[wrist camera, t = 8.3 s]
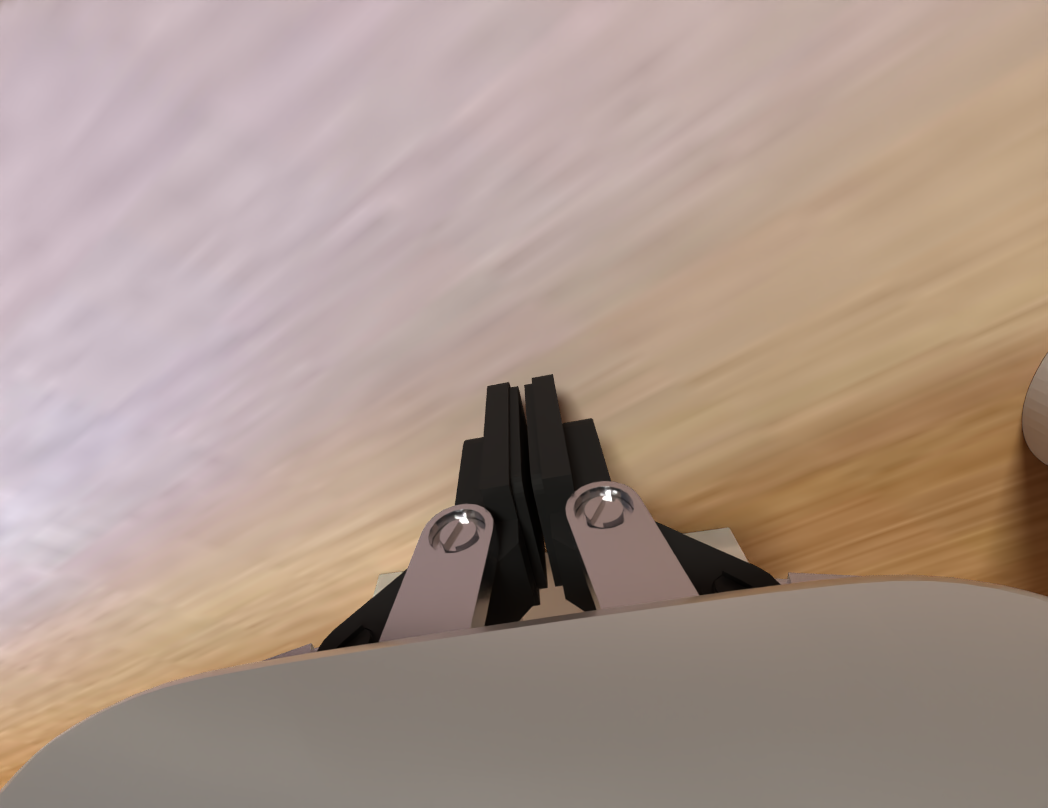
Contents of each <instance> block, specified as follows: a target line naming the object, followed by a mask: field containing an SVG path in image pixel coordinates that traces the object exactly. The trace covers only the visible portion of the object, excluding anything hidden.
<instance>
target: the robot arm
mask: <svg viewBox="0 0 1048 808" xmlns="http://www.w3.org/2000/svg"><path fill="white" fill-rule="evenodd" d="M524 387H525V401H526V416H527V423H526V419H525V414H524V410H523V405H522V401H521V396H520V392H519V388H518V386H517V387H510V384H509V382H507V383H502V384H496V385H491V386H488V387H487V398H486V411H485V424H484V437H481V438H475V439H470V440H465V441H464V444H463V450H462V458H461V465H460V472H459V479H458V487H457V494H456V501H455V506H452V507H450V508H447V509H444V510H443V511H441V512H440V513H438V514H436V515H435V516H434V517H433V518H432V519H431V520H430V521H429V522H428V523H427V524H426V526H425V528H424V529H423V531H422V533H421V536H420V538H419V541H418V543H417V546H416V548H415V551H414V554H413V556H412V559H411V561H410V564H409V566H408V569H406V570H405V571H404V572H403V573H402V574H400V575H399V576H398V577H397V578H396V579H394V580H393V581H392V582H391V583H390V584H388V585H387V586H386V587H385V588H384V589H382V590H381V591H380V592H379V593H378V594H376V595H375V596H374V597H373V598H372V599H370V600H369V601H368V602H367V603H366V604H364V605H363V606H362V607H361V608H360V609H358V610H357V611H356V612H355V613H354V614H352V615H351V616H350V617H349V618H348V619H346V620H345V621H344V622H343V623H342V624H340V625H339V626H338V627H337V628H336V629H334V630H333V631H332V632H331V633H330V634H329V635H328V637H327V638H326V639H325V640H324V641H323V642H322V644H321V645H320V647H318V648H314V647H313V645H312V644H308V645H305V646H302V647H300V648H297V649H294V650H291V651H288V652H286V653H283V654H280V655H277V656H275V657H272V658H269V659H266V660H263V661H260V662H254V663H248V664H243V665H238V666H233V667H228V668H223V669H218V670H213V671H209V672H204V673H200V674H196V675H193V676H189V677H186V678H182V679H178V680H175V681H171V682H168V683H165V684H162V685H159V686H157V687H154V688H151V689H148V690H146V691H143V692H140V693H138V694H135V695H132V696H130V697H128V698H126V699H124V700H122V701H120V702H118V703H116V704H114V705H111V706H109V707H107V708H105V709H103V710H101V711H99V712H97V713H95V714H93V715H92V716H90V717H88V718H86V719H85V720H83V721H81V722H79V723H78V724H76V725H74V726H73V727H71V728H69V729H68V730H66V731H65V732H63V733H62V734H60V735H59V736H57V737H56V738H54V739H53V740H52V741H50V742H49V743H48V744H47V745H45V746H44V747H43V748H42V749H41V750H39V751H38V752H37V753H36V754H35V755H34V756H32V757H31V758H30V759H29V760H28V761H27V762H26V763H25V764H24V765H23V766H22V767H21V768H20V769H19V770H18V771H17V772H16V774H15V775H14V776H13V777H12V778H11V779H10V780H9V781H8V782H7V783H6V785H5V786H4V787H3V788H2V789H1V790H0V808H1048V597H1047V596H1044V595H1040V594H1037V593H1033V592H1030V591H1026V590H1022V589H1018V588H1013V587H1009V586H1004V585H1000V584H993V583H987V582H980V581H973V580H967V579H960V578H953V577H938V576H922V575H873V576H850V575H827V574H805V573H788V578H787V579H774V578H773V577H772V576H771V575H770V574H769V573H767V572H765V571H764V570H762V569H760V568H759V567H757V566H755V565H752V564H750V563H748V562H746V561H743V560H741V559H739V558H737V557H734V556H732V555H730V554H728V553H725V552H723V551H721V550H718V549H716V548H714V547H712V546H709V545H707V544H705V543H703V542H700V541H698V540H696V539H694V538H691V537H689V536H687V535H685V534H682V533H680V532H678V531H675V530H673V529H671V528H669V527H666V526H664V525H662V524H660V523H657V522H655V521H654V520H653V518H652V516H651V515H650V513H649V511H648V510H647V508H646V506H645V505H644V503H643V501H642V500H641V498H640V497H639V495H638V494H637V493H636V492H635V491H634V490H633V489H631V488H630V487H628V486H626V485H624V484H621V483H617V482H611V480H610V476H609V473H608V469H607V466H606V463H605V459H604V456H603V452H602V449H601V446H600V442H599V439H598V435H597V432H596V429H595V425H594V422H593V419H592V418H590V419H585V420H579V421H573V422H567V423H562V421H561V416H560V410H559V405H558V400H557V394H556V389H555V384H554V378H553V374H552V375H546V376H540V377H535V378H532V384H528V385H524ZM544 540H545V545H546V549H547V553H548V557H549V562H550V566H551V570H552V575H553V579H554V583H555V587H558V586H563V590H564V595H565V599H566V600H567V601H569V602H571V603H572V604H574V605H575V606H577V607H578V608H580V609H581V610H583V611H584V612H580V613H573V614H566V615H559V616H552V617H545V618H538V619H532V620H525V621H523V616H524V615H525V614H526V613H527V612H528V611H529V610H530V609H531V608H532V606H538V605H540V592H539V589H545V588H548V580H547V569H546V558H545V547H544Z"/></svg>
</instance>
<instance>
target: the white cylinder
mask: <svg viewBox="0 0 1048 808" xmlns="http://www.w3.org/2000/svg"><path fill="white" fill-rule="evenodd" d="M1022 427H1023V433H1024V438H1025V440H1026V443H1027V445H1028V447H1029V449H1030V450H1031V451H1032V453H1033V454H1034V455H1035V456H1036V457H1037V458H1038V459H1039V460H1040V461H1042V462H1043V463H1045V464H1046V465H1048V353H1047V355H1046V356H1045V358H1044V359H1043V361H1042V363H1041V364H1040V366H1039V368H1038V370H1037V372H1036V374H1035V375H1034V378H1033V380H1032V382H1031V384H1030V387H1029V389H1028V392H1027V395H1026V399H1025V403H1024V407H1023V414H1022Z"/></svg>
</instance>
